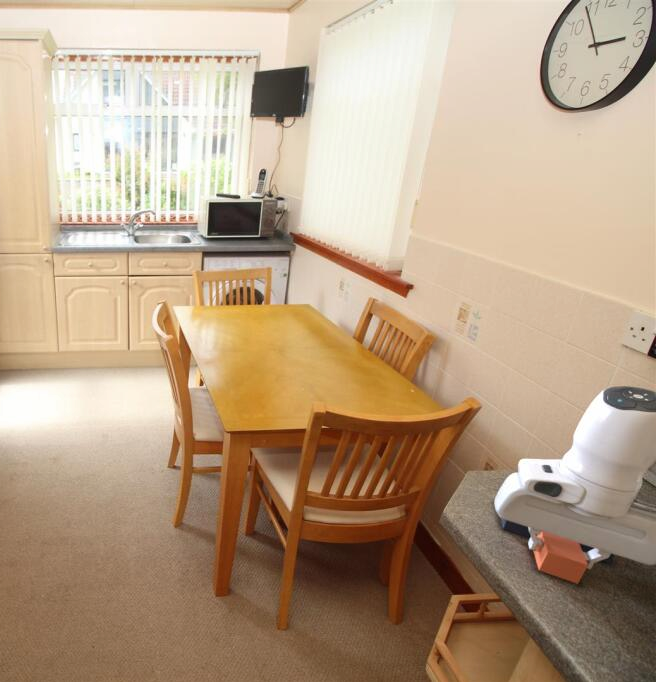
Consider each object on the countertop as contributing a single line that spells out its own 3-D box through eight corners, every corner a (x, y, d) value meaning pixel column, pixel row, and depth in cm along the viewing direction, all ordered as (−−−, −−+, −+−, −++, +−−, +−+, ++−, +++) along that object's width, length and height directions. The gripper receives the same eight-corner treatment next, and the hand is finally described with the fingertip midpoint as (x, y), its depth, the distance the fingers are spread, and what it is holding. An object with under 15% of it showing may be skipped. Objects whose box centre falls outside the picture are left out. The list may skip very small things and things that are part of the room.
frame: (595, 534, 85) (600, 525, 84) (609, 564, 78) (614, 555, 77) (497, 503, 91) (500, 495, 90) (502, 529, 85) (506, 520, 84)
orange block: (531, 546, 81) (540, 528, 80) (568, 558, 79) (578, 540, 77) (538, 570, 76) (547, 551, 75) (577, 584, 74) (588, 565, 73)
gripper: (676, 500, 70) (634, 570, 75) (508, 455, 79) (482, 520, 84) (696, 527, 65) (650, 600, 70) (515, 476, 73) (486, 544, 79)
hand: (557, 556), depth 77 cm, fingers closed on orange block, 5 cm apart
